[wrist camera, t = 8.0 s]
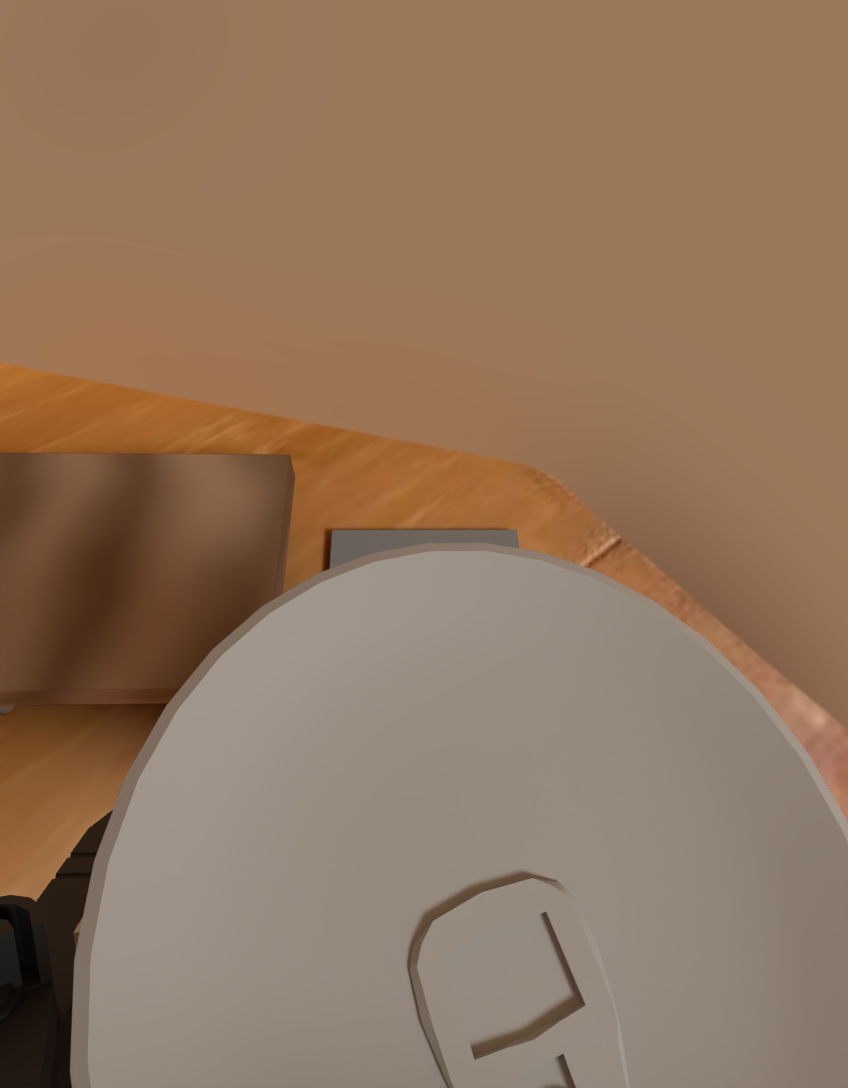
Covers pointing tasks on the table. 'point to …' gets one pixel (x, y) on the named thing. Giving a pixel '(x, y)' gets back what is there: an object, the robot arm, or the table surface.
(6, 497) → the walnut slab
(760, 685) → the table surface
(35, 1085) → the robot arm
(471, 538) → the rubber mat
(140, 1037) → the canned food
